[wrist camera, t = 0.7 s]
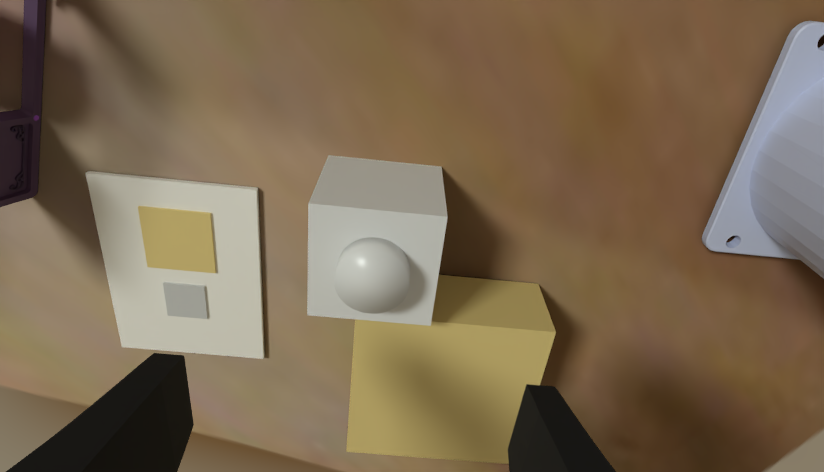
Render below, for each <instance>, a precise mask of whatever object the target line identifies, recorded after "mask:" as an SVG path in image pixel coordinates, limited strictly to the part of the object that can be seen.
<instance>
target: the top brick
mask: <svg viewBox="0 0 824 472" xmlns="http://www.w3.org/2000/svg"><path fill="white" fill-rule="evenodd" d="M447 218H448V216H447V208H446V199H445V191H444V183H443V175H442V167H440V166H430V165H420V164H410V163H400V162H390V161H381V160H371V159H361V158H351V157H341V156H331V155H328V158H327V160H326V163H325V165H324V167H323V170H322V172H321V175H320V177H319V179H318V182H317V184H316V187H315V189H314V191H313V194H312V196H311V199H310V201H309V207H308V306H307V315H312V316H323V317H335V318H346V319H358V320H369V321H381V322H392V323H404V324H415V325H427V326H431V320H432V314H433V308H434V301H435V295H436V288H437V282H438V275H439V269H440V263H441V256H442V250H443V243H444V237H445V231H446V224H447Z"/></svg>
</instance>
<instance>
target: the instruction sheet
mask: <svg viewBox="0 0 824 472" xmlns="http://www.w3.org/2000/svg"><path fill="white" fill-rule="evenodd" d="M85 174H86V179H87V183H88V188H89V193H90V197H91V202H92V207H93V212H94V216H95V221H96V226H97V231H98V235H99V240H100V245H101V250H102V254H103V259H104V264H105V269H106V273H107V278H108V283H109V288H110V292H111V297H112V302H113V307H114V311H115V316H116V321H117V326H118V330H119V335H120V340H121V345H122V347H128V348H140V349H152V350H164V351H176V352H188V353H200V354H212V355H224V356H236V357H248V358H259V359H264V356H265V351H264V326H263V301H262V275H261V250H260V225H259V199H258V188H256V187H246V186H236V185H225V184H215V183H205V182H195V181H185V180H175V179H165V178H155V177H145V176H134V175H124V174H114V173H104V172H94V171H88V172H86V173H85Z"/></svg>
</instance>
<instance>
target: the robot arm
mask: <svg viewBox="0 0 824 472" xmlns="http://www.w3.org/2000/svg"><path fill="white" fill-rule="evenodd" d="M823 35H824V22H816V21H805V22H802V23H800V24H798V25H797V26H796V27H795V28H793V29H792V30H791V32H790V34H789V35H788V37H787V39H786V42H785V44H784V46H783V49H782V51H781V53H780V56H779V58H778V60H777V63H776V65H775V67H774V70H773V72H772V74H771V77H770V79H769V81H768V84H767V86H766V88H765V91H764V93H763V95H762V98H761V100H760V102H759V105H758V107H757V109H756V112H755V114H754V116H753V119H752V121H751V123H750V126H749V128H748V130H747V133H746V135H745V137H744V140H743V142H742V144H741V147H740V149H739V151H738V154H737V156H736V158H735V161H734V163H733V165H732V167H731V170H730V172H729V174H728V177H727V179H726V181H725V184H724V186H723V188H722V191H721V193H720V195H719V198H718V200H717V202H716V205H715V207H714V209H713V212H712V214H711V216H710V219H709V221H708V223H707V226H706V228H705V230H704V233H703V235H702V242H703V244H704V245H705V246H706V247H707V248H708V249H709V250H711V251H715V252H726V253H736V254H746V255H756V256H767V257H777V258H787V259H798V260H801V261H802V262H803V263H805V264H806V265H807V266H808V267H810V268H811V269H812V270H813V271H815V272H816V273H817V274H818V275H820V276H821V277H822V278H823V279H824V44H823V46H821V47H819V48H818V46H817V44H818V40H819V39H820V38H821V36H823ZM732 236H735V238H734V239H733V240H732V241H730V242H727V243H726V241H727V240H728V239H729V238H730V237H732ZM192 428H193V417H192V410H191V403H190V396H189V388H188V381H187V374H186V366H185V359H184V356H182V355H171V354H159V353H154V354H153V355H151V356H150V357H149V358H147V359H146V360H145V361H144V362H143V363H141V364H140V365H139V366H138V367H137V368H135V369H134V370H133V371H132V372H131V373H129V374H128V375H127V376H126V377H125V378H124V379H122V380H121V381H120V382H119V383H118V384H116V385H115V386H114V387H113V388H112V389H111V390H109V391H108V392H107V393H106V394H105V395H103V396H102V397H101V398H100V399H99V400H97V401H96V402H95V403H94V404H93V405H91V406H90V407H89V408H88V409H86V410H85V411H84V412H83V413H81V414H80V415H79V416H78V417H77V418H76V419H74V420H73V421H72V422H71V423H69V424H68V425H67V426H65V427H64V428H63V429H62V430H60V431H59V432H58V433H57V434H55V435H54V436H53V437H52V438H50V439H49V440H48V441H46V442H45V443H44V444H42V445H41V446H40V447H38V448H37V449H36V450H34V451H33V452H32V453H31V454H29V455H28V456H26V457H25V458H24V459H22V460H21V461H20V462H18V463H17V464H16V465H14V466H13V467H12V468H10V469H9V470H8V471H6V472H177V471H178V468H179V465H180V462H181V459H182V457H183V454H184V451H185V448H186V445H187V443H188V440H189V437H190V434H191V431H192ZM508 459H509V470H510V472H616V471H615V470H614V469H613V467H612V466H611V465H610V463H609V462H608V461H607V459H606V458H605V457H604V455H603V454H602V453H601V451H600V450H599V449H598V447H597V446H596V445H595V443H594V442H593V440H592V439H591V438H590V436H589V435H588V433H587V432H586V430H585V429H584V428H583V426H582V425H581V423H580V422H579V421H578V419H577V418H576V416H575V415H574V413H573V412H572V410H571V409H570V408H569V406H568V405H567V403H566V402H565V400H564V399H563V397H562V396H561V395H560V393H559V392H558V390H557V389H556V388H555V387H553V386H541V385H529V384H526V387H525V391H524V394H523V398H522V401H521V405H520V408H519V412H518V415H517V418H516V422H515V425H514V429H513V432H512V436H511V439H510V443H509V446H508Z"/></svg>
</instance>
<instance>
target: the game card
mask: <svg viewBox="0 0 824 472" xmlns="http://www.w3.org/2000/svg"><path fill="white" fill-rule="evenodd" d="M45 13H46V0H24V28H23V68H22V106H21V108H20V109H19V110H13V111H6V112H0V207H2V206H5V205H9V204H12V203H15V202H19V201H22V200H26V199H29V198H32V197H34V196H35V195H36V194H37V192H38V174H39V151H40V128H41V105H42V82H43V59H44V36H45Z"/></svg>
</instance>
